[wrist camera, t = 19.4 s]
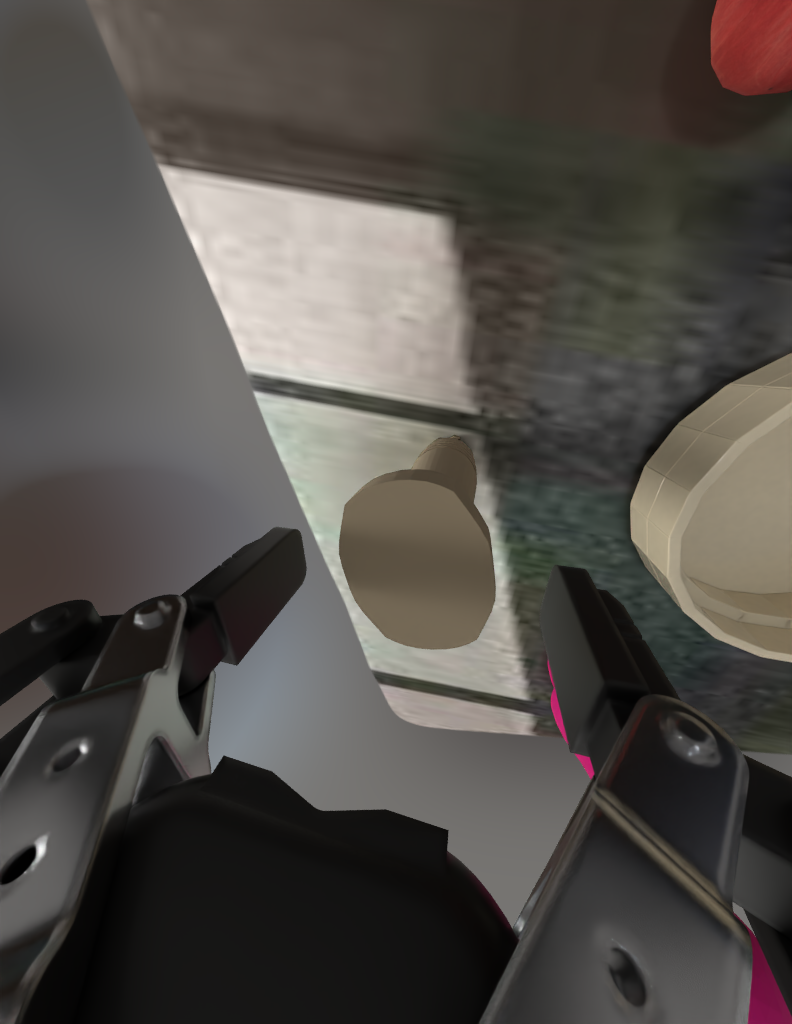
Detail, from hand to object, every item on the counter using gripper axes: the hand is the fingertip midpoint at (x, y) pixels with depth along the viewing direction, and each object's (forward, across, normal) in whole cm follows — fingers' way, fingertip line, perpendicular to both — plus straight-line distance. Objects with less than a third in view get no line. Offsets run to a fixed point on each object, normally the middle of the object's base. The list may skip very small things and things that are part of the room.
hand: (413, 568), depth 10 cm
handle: (+15, 0, 0) cm, 15 cm away
